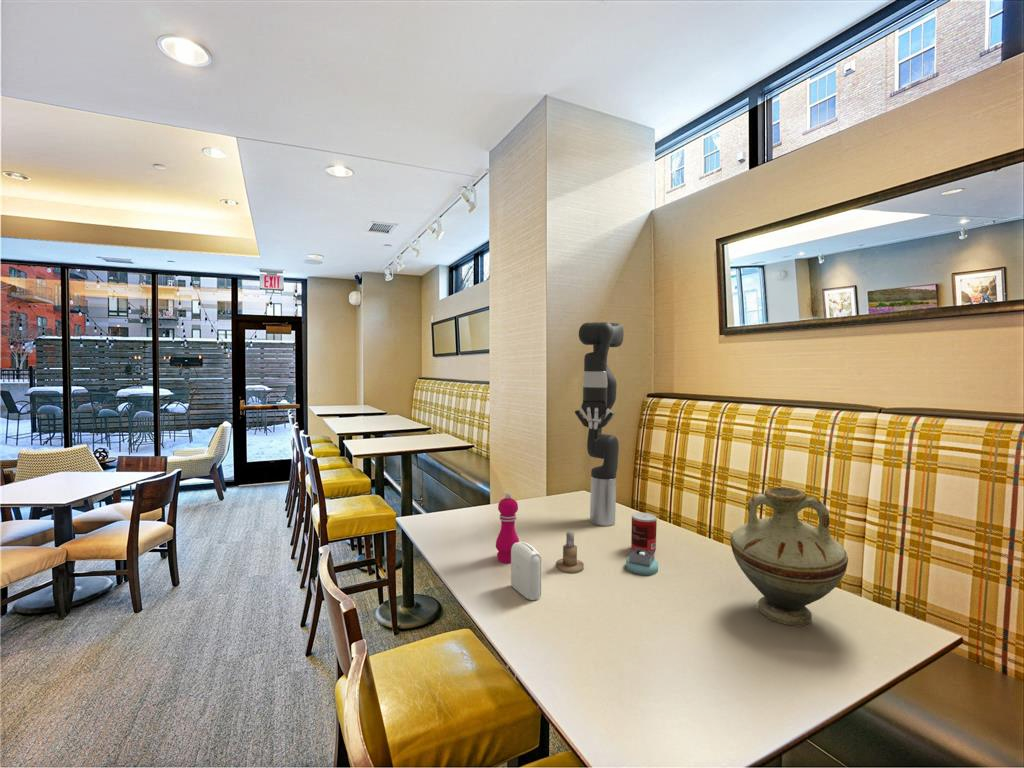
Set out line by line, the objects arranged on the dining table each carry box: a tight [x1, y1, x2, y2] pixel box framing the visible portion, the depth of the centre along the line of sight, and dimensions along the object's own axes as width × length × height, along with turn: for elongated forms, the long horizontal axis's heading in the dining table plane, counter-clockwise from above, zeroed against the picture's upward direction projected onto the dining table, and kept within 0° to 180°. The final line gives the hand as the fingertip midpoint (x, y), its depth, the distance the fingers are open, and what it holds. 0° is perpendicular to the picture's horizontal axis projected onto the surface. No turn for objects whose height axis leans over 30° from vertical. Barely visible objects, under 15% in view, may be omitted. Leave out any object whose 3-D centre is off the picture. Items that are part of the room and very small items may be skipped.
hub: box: [625, 552, 659, 576], centre depth 134 cm, size 9×9×4 cm
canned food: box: [630, 512, 658, 553], centre depth 148 cm, size 8×8×11 cm
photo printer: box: [510, 541, 542, 601], centre depth 119 cm, size 10×4×12 cm, turn 29°
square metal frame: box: [628, 548, 656, 567], centre depth 134 cm, size 6×6×2 cm
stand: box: [555, 531, 585, 574], centre depth 134 cm, size 8×8×10 cm
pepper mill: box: [495, 492, 520, 564], centre depth 139 cm, size 7×7×20 cm
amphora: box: [729, 487, 849, 627], centre depth 109 cm, size 24×24×30 cm
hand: (594, 440), depth 146 cm, fingers closed
